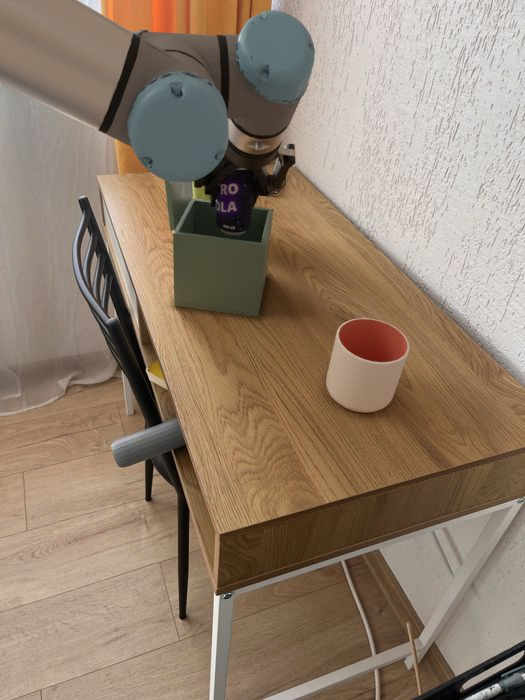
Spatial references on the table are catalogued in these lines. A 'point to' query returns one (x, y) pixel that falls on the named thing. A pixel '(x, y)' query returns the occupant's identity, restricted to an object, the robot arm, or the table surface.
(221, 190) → the beverage can
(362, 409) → the cup
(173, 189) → the lid
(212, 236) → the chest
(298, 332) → the table surface
